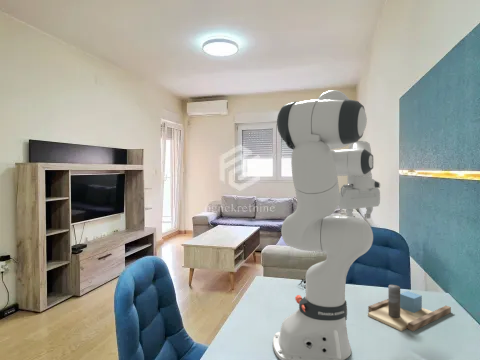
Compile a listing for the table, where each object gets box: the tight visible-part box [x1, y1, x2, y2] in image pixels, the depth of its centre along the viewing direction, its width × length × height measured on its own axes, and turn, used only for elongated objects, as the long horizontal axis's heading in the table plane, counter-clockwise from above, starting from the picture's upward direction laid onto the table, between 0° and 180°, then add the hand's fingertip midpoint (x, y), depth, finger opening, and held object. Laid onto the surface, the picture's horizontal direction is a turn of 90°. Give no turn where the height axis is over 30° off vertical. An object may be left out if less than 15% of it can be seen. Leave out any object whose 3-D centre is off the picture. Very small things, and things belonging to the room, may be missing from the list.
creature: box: [298, 275, 306, 288], centre depth 135 cm, size 8×5×8 cm
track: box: [367, 298, 452, 332], centre depth 107 cm, size 24×16×3 cm, turn 121°
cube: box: [400, 290, 423, 313], centre depth 107 cm, size 5×5×5 cm
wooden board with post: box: [367, 284, 433, 332], centre depth 104 cm, size 20×12×11 cm, turn 121°
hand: (359, 219), depth 115 cm, fingers open, 8 cm apart
